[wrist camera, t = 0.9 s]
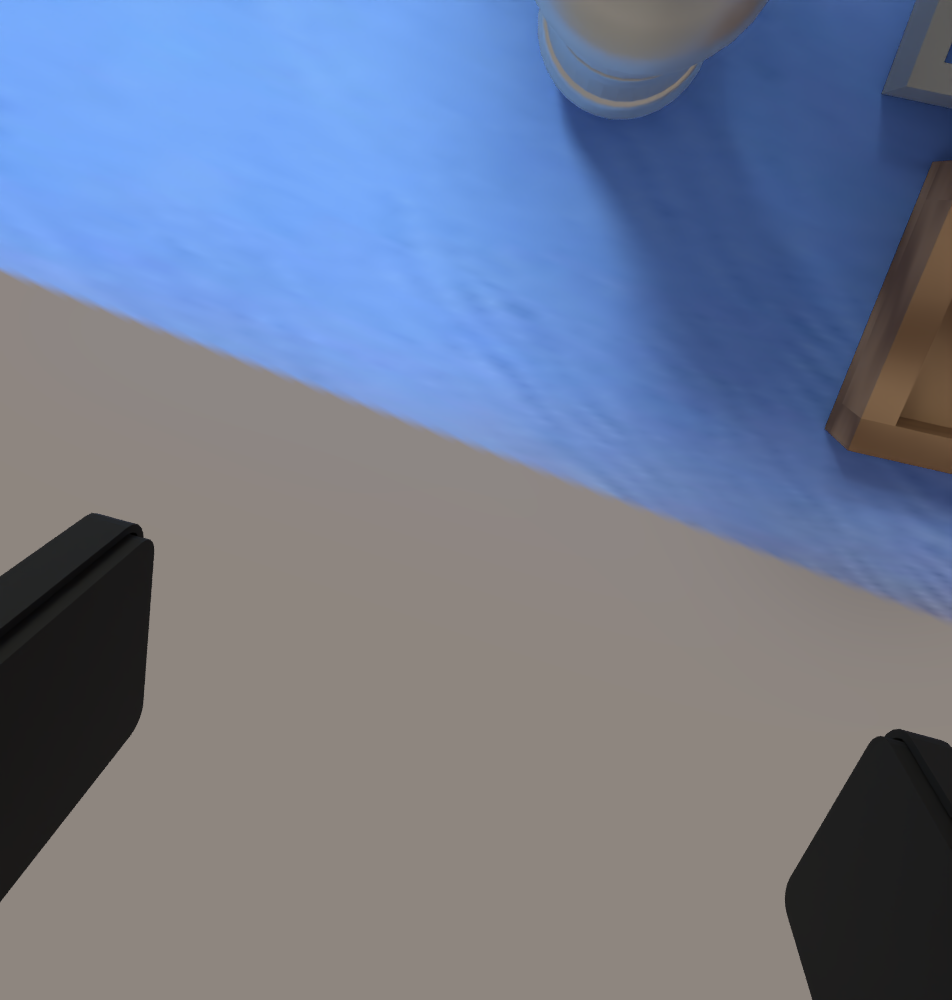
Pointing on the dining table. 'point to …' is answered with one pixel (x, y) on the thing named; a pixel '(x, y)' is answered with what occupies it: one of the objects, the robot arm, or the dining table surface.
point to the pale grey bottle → (634, 48)
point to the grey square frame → (924, 56)
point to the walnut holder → (907, 346)
